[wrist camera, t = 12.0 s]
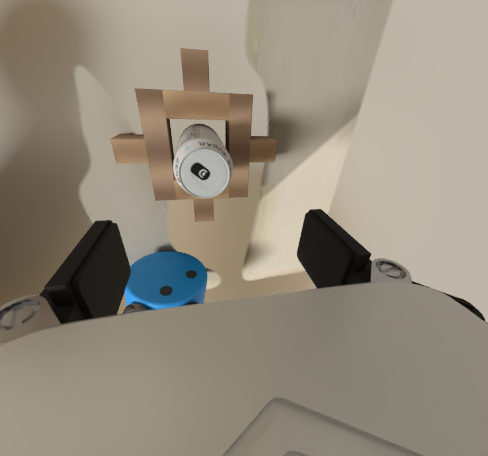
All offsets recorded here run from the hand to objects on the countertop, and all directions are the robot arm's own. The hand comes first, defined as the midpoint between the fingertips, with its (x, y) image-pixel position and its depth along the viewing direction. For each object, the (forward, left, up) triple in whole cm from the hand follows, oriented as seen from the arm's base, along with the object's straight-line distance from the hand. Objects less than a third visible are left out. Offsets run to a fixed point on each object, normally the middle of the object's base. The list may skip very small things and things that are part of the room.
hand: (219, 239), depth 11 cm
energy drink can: (0, 0, -27) cm, 27 cm away
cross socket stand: (0, 0, -26) cm, 26 cm away
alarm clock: (+22, -7, -27) cm, 35 cm away
